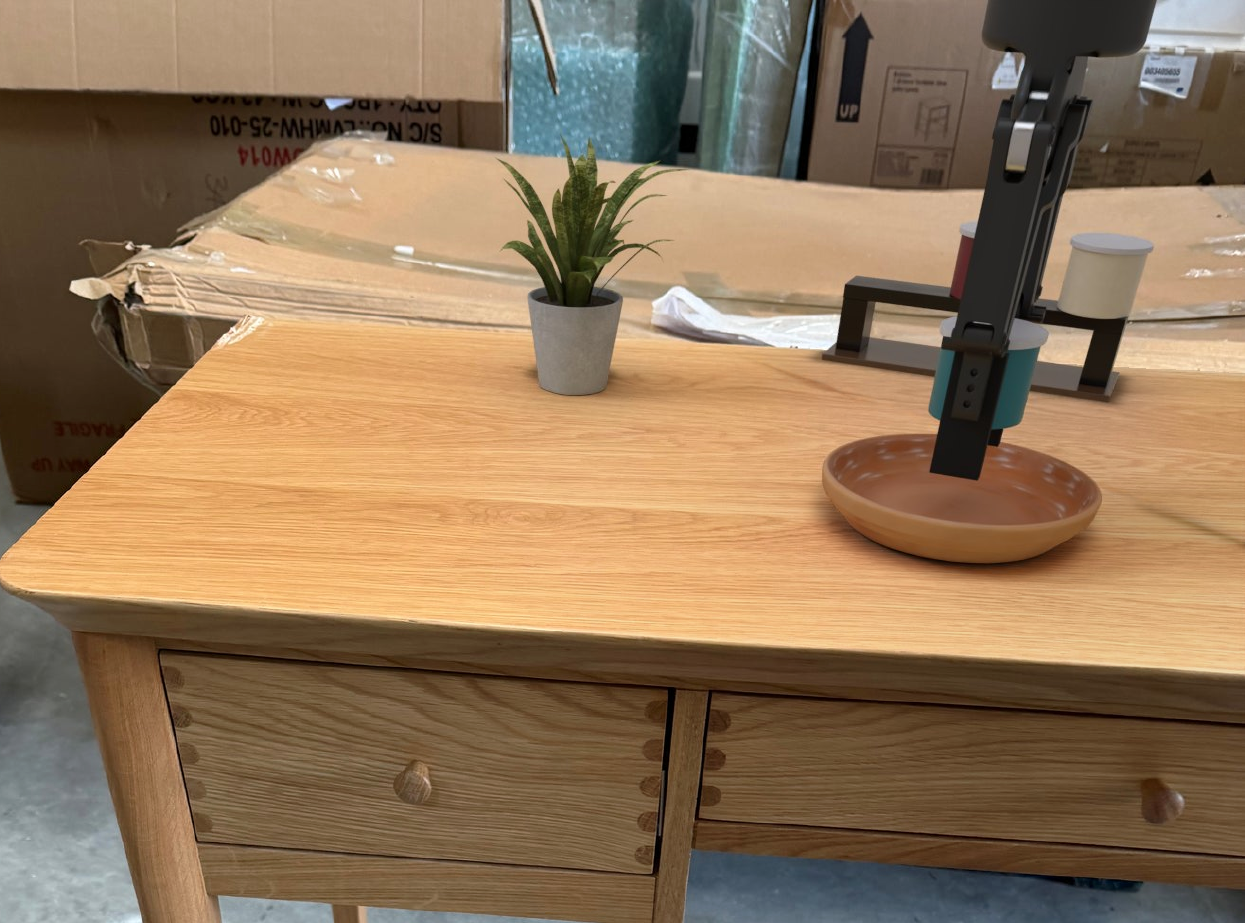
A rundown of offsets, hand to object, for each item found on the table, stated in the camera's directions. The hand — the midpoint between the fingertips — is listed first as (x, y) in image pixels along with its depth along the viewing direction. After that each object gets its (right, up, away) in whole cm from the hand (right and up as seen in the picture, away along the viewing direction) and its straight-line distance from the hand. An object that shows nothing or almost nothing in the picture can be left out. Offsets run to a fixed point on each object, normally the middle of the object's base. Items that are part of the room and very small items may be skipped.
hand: (965, 456), depth 70 cm
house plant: (-22, +13, +22) cm, 33 cm away
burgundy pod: (+9, +21, +22) cm, 32 cm away
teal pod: (0, +2, -1) cm, 2 cm away
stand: (+9, +16, +26) cm, 32 cm away
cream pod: (+16, +18, +20) cm, 31 cm away
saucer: (0, -3, +3) cm, 4 cm away
